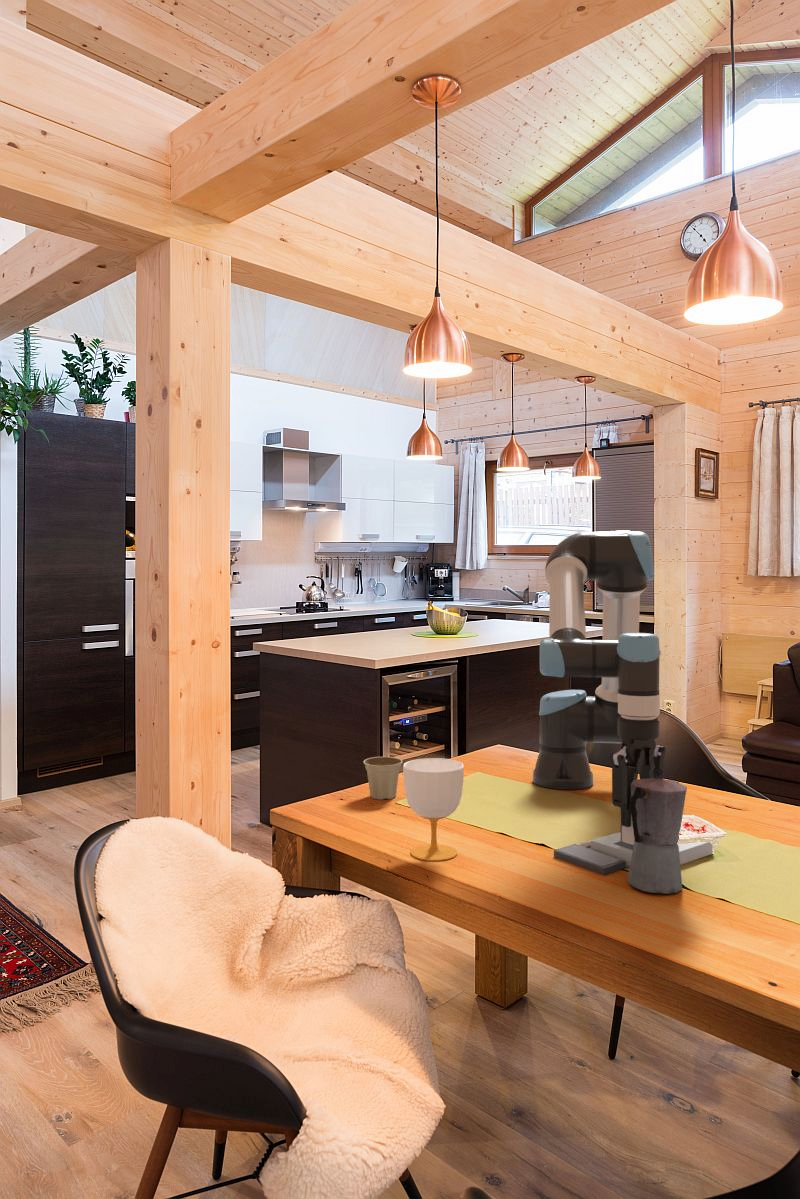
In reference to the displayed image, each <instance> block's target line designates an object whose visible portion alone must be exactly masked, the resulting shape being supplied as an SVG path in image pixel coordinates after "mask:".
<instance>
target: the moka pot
mask: <svg viewBox="0 0 800 1199" xmlns="http://www.w3.org/2000/svg"><path fill="white" fill-rule="evenodd" d="M664 773H665V770H662V769H655V776H656V778H650V779H640V778H639V779H638V778H637V780H634V781H633V782H632V783H631V796H632V797H631V800H630V811H631V816H632V824H633V830H634V836H635V841H634V847H633V852H632V857H631V863H630V867H629V869H628V873H627V882H628V884H629V885H630V886H631V887H633V888H635V889H637V890H640V891H642V892H646V893H651V894H661V895H665V894H666V895H668V894H670V895H671V894H677V893H679V892H680V891H682V889H683V881H682V869H681V868H682V867H681V865H680V856H679V846H678V844H677V843H678V840H679V832H681V827H682V820H683V814H684V809H685V808H684V807H685V803H686V802H685V801H686V796H687V790H688V788H687V786H686V785H684V784H680V782H679V781H677V780H672V779H666V778H664V776H663V774H664ZM662 778H663V779H662Z"/></svg>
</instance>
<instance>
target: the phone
mask: <svg viewBox="0 0 800 1199" xmlns="http://www.w3.org/2000/svg"><path fill="white" fill-rule="evenodd" d="M578 844H579V843H574V844H570V845H566V846H563V847H560V848H558V849H553V857H554V858H557V859H560V860H562V861H565V862H568V863H570V864H573V865H575V866H578V867H581V868H584V869H587V870H589V871H592V872H594V873H597V874H599V875H602V876H605V875H608V874H611V873H614V872H618V871H620V870H623V869H624V870H625V869H627V866H626V861H624V860H621V859H618V858H615V857H612V856H609V855H606V854H603V853H601V852H598V851H595V850H592V849H591V848H589V847H583V846H580V845H578Z"/></svg>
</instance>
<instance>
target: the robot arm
mask: <svg viewBox="0 0 800 1199" xmlns="http://www.w3.org/2000/svg"><path fill="white" fill-rule="evenodd" d="M544 568H545V570H544V573H545V574H544V575H545V576H544V577H545V580H546V581H547V584H549V613H548V614H549V616H548V618H549V621H548V622H549V623H548V624H549V628H548V629H549V633H548V634H549V637H548V639H546V638H545V639H541V640H540V642H539V671H540V674H541V675H542V676H544V677H545V676H546V677H554V678H555V677H556V678H601V684H600V685H599V686H598V687H596V689H595V691H594V693H595V694H594V696H591V695H587V692H586V690H583V689H565V690H558V691H552V692H549V693H546V694H544V695H543V696H542V697H541V698H540V700H539V711H538V715H539V751H538V752H539V753H538V755H537V759H536V763H535V768H534V769H533V771H532V782H533V783H534V784H536V785H537V786H540V787H543V788H548V789H554V790H580V789H582V790H583V789H586V788H589V787H592V786H593V784H594V774H593V771H592V770H591V766H590V763H589V762H590V761H589V758H588V754H587V743H594V744H599V743H600V744H620V747H619V748H620V749H619V751H617V752H616V753H615V752H614V753H613V752H611V753H610V755H609V759H610V760H609V761H610V763H611V791H612V792H611V794H612V795H611V796H612V797H611V801H612V803H611V804H612V806H614V807H619V809H620V826H621V825H622V842H625V843H628V844H631V845H634V841H635V836H634V830H633V824H632V816H631V811H630V800H631V797H632V796H631V783H632V782H633V781H634V780H637V779H638V777H639V779H650V778H656V776H655V769H662V770H664V768H665V767H664V764H665V763H664V761H665V760H664V759H665V754H666V749H667V748H666V747H665V746H662V745H657V743H656V740H657V739H659V737H660V719H659V717H658V716H659V715H660V714H661V708H660V707H661V706H660V702H661V701H660V697H661V696H660V660H661V659H660V657H661V648H660V639H659V638H660V637H659V636H658V634H654V633H649V632H648V633H646V632H640V607H641V606H640V605H641V595H642V593H644V591H646V590H647V588H648V582H651V581H653V580H654V578H655V567H654V556H653V550H652V544H651V541H650V537H649V535H648V534H647V533H646V532H644V531H633V530H632V531H631V530H615V531H614V530H610V531H580V532H577V533H574V534H571V535H569V536H567V537H566V538H564V539H562V540H561V541H560V542H559V543H558V544H557V545H556V546H555V547H554V548H553V550H552V551H551V553H550V554H549V556H548V558H547V559H546V564H545V567H544ZM586 581H594V582H595V581H596V588H597V589H598V590H599V591H600V592H601V593H602V595H603V596H602V639H587V635H586V634H587V633H586V632H587V631H586V629H587V628H586V614H585V611H586V610H585V609H586V608H585V590H584V584H585V582H586ZM664 771H665V770H664ZM662 779H664V774H663V778H662Z"/></svg>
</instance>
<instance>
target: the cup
mask: <svg viewBox="0 0 800 1199" xmlns="http://www.w3.org/2000/svg"><path fill="white" fill-rule="evenodd" d="M464 766H465V765H464V763H463V762H461V761H459V760H456V759H455V760H454V759H450V758H441V757H440V758H439V757H438V758H437V757H427V758H426V757H425V758H416V759H412V760H409V761H406V762H404V763H403V766H402V769H403V770H402V771H403V772H402V773H403V783H404V784H403V785H404V792H405V797H406V801H407V804H408V806H409V807H410V809H411V810H412V812H414V813H415V814H416V815H417V816H419V817H421V818H422V819H425V820H428V821H429V823H430V829H431V831H430V833H431V835H430V836H431V840H430V843H429V844H421V845H418V846H414V847H413V848H412V849H410V855H411V856H412V857H413V858H415V859H418V860H421V861H424V862H425V861H427V862H443V861H444V862H445V861H449V860H452V859H454V858H456V856H458V850H457V849H455V848H454V847H452V846H449V845H445V844H439V843H438V842H437V839H438V838H437V824H438V822H439V820H443V819H445V818H447V817H450V816H451V815H452V814H453V813H454V812H456V810H457V808H458V806H459V805H460V802H461V800H462V799H461V798H462V795H463V786H464V770H465V767H464Z"/></svg>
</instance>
